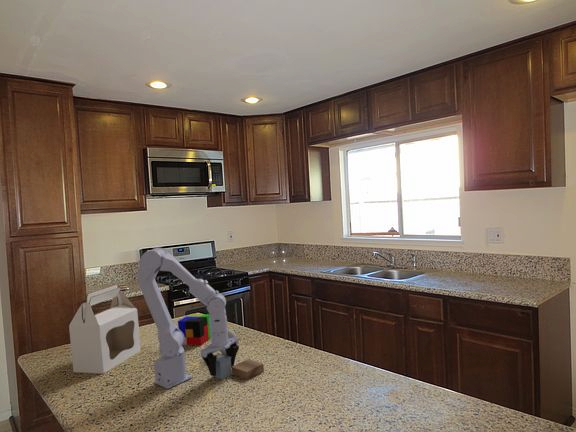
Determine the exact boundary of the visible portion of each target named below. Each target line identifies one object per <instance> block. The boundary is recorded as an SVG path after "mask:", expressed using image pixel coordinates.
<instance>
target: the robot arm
mask: <svg viewBox="0 0 576 432" xmlns="http://www.w3.org/2000/svg"><path fill="white" fill-rule="evenodd" d="M159 271H160V272H170V273H171V274H173V276H175V277H177V278H178V279H179V280H180V281H182V282H183V283H184V284H185V285H186V286H188V288H189V289H188V290H189V293H190V294H191V295H192V296H193V297H195V298H196V299H197V300H198V301H199V302H200V303H202V304H203V305H205V306H206V311H207V312H208V314H209V316H210V318H209V322H210V334H211V339H210V345H207V346H206V347H204V348H203V349H201V350H200V357H201V358H202V360H203V361H204V363H205V364H206V366H207V369H208V371H209V375H210V376H212V377H214V376H216V359H217V355H215V354H216V352H220V351H219V350H222V349H225V351H226V354H227V356H230V357H231V369H232V366H234V365H235V363H236V357H237V355H238V351H239V350H240V346H239V344H240V343H239V341H240V340H239V337H238V336H237V337H233V338H230V339H228V329H229V328H228V319H227V318H228V317H227V311H226V305H227V299H226V297H225V296H224V294H223V293H220V292H219V290H215V289H214V288H213V287H212V286H211V285H209V281H208V280H207V279H205V280H204V279H203V278H196V277H195V276H194V275H192V273H191V272H190V271H189V270H188V269H187V268H185V267H184V266H183V265H182V264H181V263H180V262H179V261H178V260H177V259H176V258H175V257H174V256H173V254H171V253H169V252H167V251H166V249H164V248H162V247H160V246H159V247H158V246H157V247H154V248H152V249H151V250H147V251H145V252H144V253H143V254H142V255H141V257H140V259H139V261H138V271H137V277H136V281H137V283H138V285H139V288H140V290H141V293H142V296H143V299H144V300H145V303H146V305H147V307H148V310H149V312H150V314H151V317H152V318H153V322H154V324H155V327H156V328H157V339H158V342H159V345H158V346H159V347H158V348H159V352H160V354H161V356H160V357H159V358H157V359H155V361H154V363H153V366H154V379H155V381H154V384H156V385H159V386H161V387H162V388H164V389H170V388H172V387H175V386H177V385H179V384H182V383H183V382H186V381H188V380H190V379H192V378H193V376H192V375H189V374H188V373H187V368H186V367H187V366H186V355H185V349H184V348H183V345H182V344H183V342H184V339H185V338H184V334H183V333H182V332H181V331H180V330H179V329H178V324H176V323H175V322H174V321H173V319H172V316H171V315H170V312H169V310H168V307H167V305H166V302H165V300H164V298H163V296H162V295H163V294H162V292H161V290H160V287H159V285H158V283H157V281H156V277H157V275H158V273H159ZM236 344H238V345H236ZM214 353H215V354H214Z"/></svg>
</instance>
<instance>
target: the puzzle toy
mask: <svg viewBox="0 0 576 432" xmlns="http://www.w3.org/2000/svg"><path fill="white" fill-rule="evenodd" d="M209 318H210V316H209V313H207V314H204V313H203V314H201V313H197V314H196V313H191V314H189V315H186V316H185V317H182V318H181V319H179V320H177V327H178V329H179V330H180V331H181V332H182V333H183V334H184V338H185V339H184V342H183V344H182V346H202V345H204V344H206V343H207V342H208V341H209V340H211V334H210V322H209Z"/></svg>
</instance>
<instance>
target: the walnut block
mask: <svg viewBox="0 0 576 432" xmlns="http://www.w3.org/2000/svg"><path fill="white" fill-rule="evenodd" d="M231 369H232V375H231V376H235V377H238V378H240V379H243V380H245V381H247V380H250V379H252V378H254V377H256V376H258V375H260V374H261V373H264V371H265V370H264V369H265V367H264V363H262V362H259V361H256V360H253V359H249V358H247V359H246V360H243V361H241V362H239V363H236V364H234V366H232V368H231Z"/></svg>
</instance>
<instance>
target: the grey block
mask: <svg viewBox="0 0 576 432" xmlns="http://www.w3.org/2000/svg"><path fill="white" fill-rule="evenodd" d="M216 357H217V359H216V376H213V377H214V378H217V379H219V380H224V379H226V378H228V377H229V376H233V375H232V368H231V357H230V356H227V355H225V354H223V353H221V354H219V355H216Z"/></svg>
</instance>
